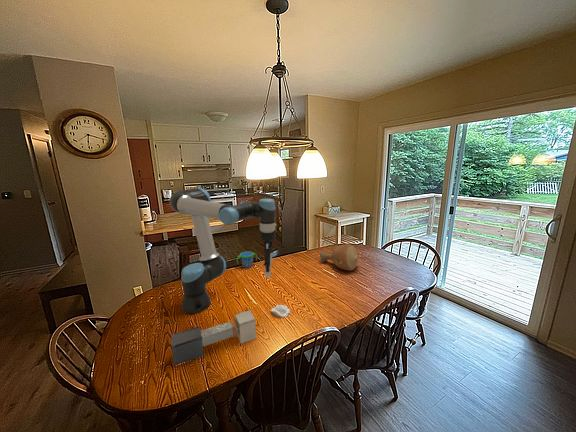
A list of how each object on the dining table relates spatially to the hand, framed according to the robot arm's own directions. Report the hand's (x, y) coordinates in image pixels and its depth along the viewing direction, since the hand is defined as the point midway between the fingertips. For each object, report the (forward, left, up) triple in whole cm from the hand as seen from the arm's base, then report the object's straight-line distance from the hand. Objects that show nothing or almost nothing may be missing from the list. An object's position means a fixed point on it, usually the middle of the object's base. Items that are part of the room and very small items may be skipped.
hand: (268, 270), depth 119 cm
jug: (+34, +66, -24) cm, 78 cm away
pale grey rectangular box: (-18, -29, -21) cm, 40 cm away
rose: (+5, +2, -25) cm, 25 cm away
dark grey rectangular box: (-24, -34, -24) cm, 48 cm away
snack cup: (-35, +52, -24) cm, 67 cm away
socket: (-6, -19, -24) cm, 31 cm away
